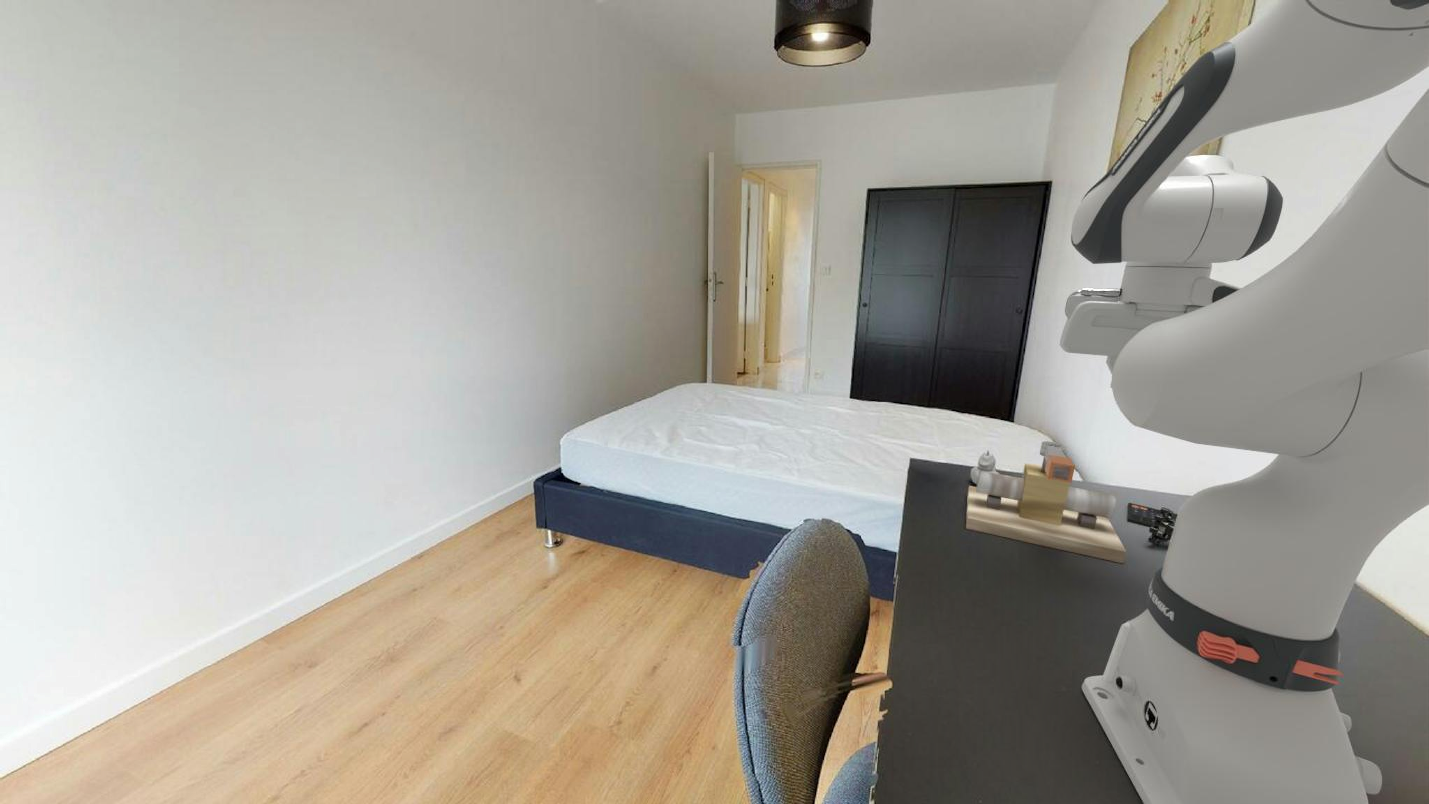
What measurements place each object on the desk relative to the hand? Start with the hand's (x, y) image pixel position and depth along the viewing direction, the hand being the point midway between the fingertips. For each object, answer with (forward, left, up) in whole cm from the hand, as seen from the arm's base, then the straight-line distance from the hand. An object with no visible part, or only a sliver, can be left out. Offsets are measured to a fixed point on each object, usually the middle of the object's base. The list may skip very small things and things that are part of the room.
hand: (1136, 390), depth 73 cm
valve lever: (+5, +7, -14) cm, 17 cm away
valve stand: (+10, +7, -27) cm, 30 cm away
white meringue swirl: (+26, +15, -27) cm, 41 cm away
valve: (+10, -15, -28) cm, 33 cm away
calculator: (+24, -15, -28) cm, 40 cm away
